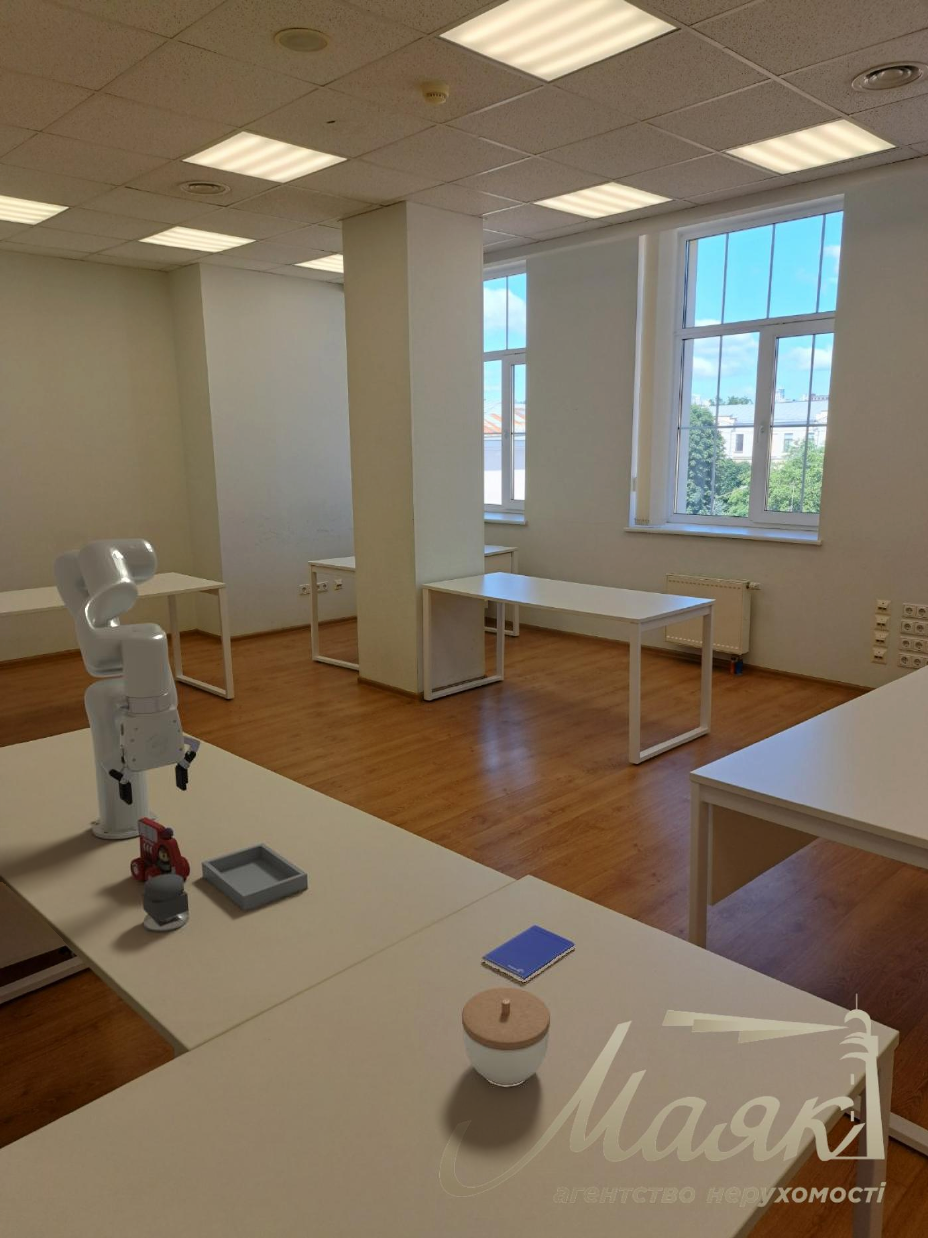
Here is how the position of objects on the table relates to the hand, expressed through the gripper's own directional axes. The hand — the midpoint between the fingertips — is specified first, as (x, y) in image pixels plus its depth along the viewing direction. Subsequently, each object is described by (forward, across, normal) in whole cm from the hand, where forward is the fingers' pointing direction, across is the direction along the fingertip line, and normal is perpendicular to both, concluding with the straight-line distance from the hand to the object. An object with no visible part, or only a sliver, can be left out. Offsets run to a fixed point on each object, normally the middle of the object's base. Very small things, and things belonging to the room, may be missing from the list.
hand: (155, 795), depth 152 cm
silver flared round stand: (+16, -5, -15) cm, 22 cm away
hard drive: (+16, +33, -61) cm, 71 cm away
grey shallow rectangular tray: (+16, +12, -13) cm, 24 cm away
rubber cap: (+14, -5, -15) cm, 21 cm away
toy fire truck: (+16, 0, 0) cm, 16 cm away
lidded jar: (+15, +13, -77) cm, 80 cm away
